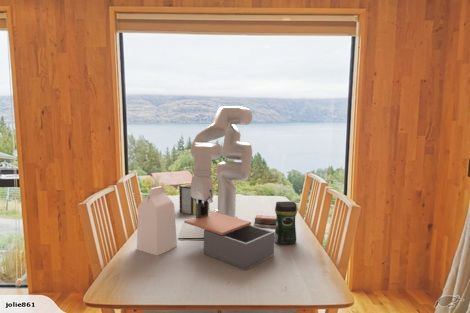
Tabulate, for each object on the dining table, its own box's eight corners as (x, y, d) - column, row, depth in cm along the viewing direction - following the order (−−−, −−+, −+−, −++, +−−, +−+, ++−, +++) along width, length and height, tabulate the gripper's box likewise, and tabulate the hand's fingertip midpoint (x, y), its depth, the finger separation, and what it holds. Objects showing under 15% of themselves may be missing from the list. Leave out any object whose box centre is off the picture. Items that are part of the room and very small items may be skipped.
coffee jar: (293, 238, 161) (294, 199, 159) (297, 245, 154) (299, 204, 151) (272, 239, 161) (273, 199, 158) (276, 245, 153) (277, 204, 150)
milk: (156, 255, 140) (156, 192, 137) (136, 249, 146) (135, 188, 143) (177, 246, 150) (176, 186, 147) (157, 240, 156) (156, 183, 153)
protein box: (209, 208, 208) (210, 183, 206) (193, 215, 195) (193, 187, 193) (195, 206, 214) (196, 181, 212) (179, 212, 201) (178, 185, 199)
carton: (203, 253, 143) (204, 230, 141) (232, 241, 156) (233, 220, 155) (245, 270, 128) (246, 244, 127) (273, 255, 142) (274, 232, 141)
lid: (184, 222, 149) (184, 206, 148) (213, 213, 162) (214, 199, 162) (222, 235, 135) (222, 217, 134) (251, 224, 148) (251, 208, 147)
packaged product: (253, 218, 177) (256, 212, 186) (253, 227, 177) (256, 221, 187) (289, 221, 173) (290, 215, 183) (289, 230, 174) (290, 224, 183)
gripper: (183, 171, 154) (183, 212, 157) (209, 176, 144) (208, 219, 147) (196, 169, 160) (196, 209, 162) (221, 174, 150) (220, 216, 152)
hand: (202, 213), depth 154 cm, fingers closed on lid
